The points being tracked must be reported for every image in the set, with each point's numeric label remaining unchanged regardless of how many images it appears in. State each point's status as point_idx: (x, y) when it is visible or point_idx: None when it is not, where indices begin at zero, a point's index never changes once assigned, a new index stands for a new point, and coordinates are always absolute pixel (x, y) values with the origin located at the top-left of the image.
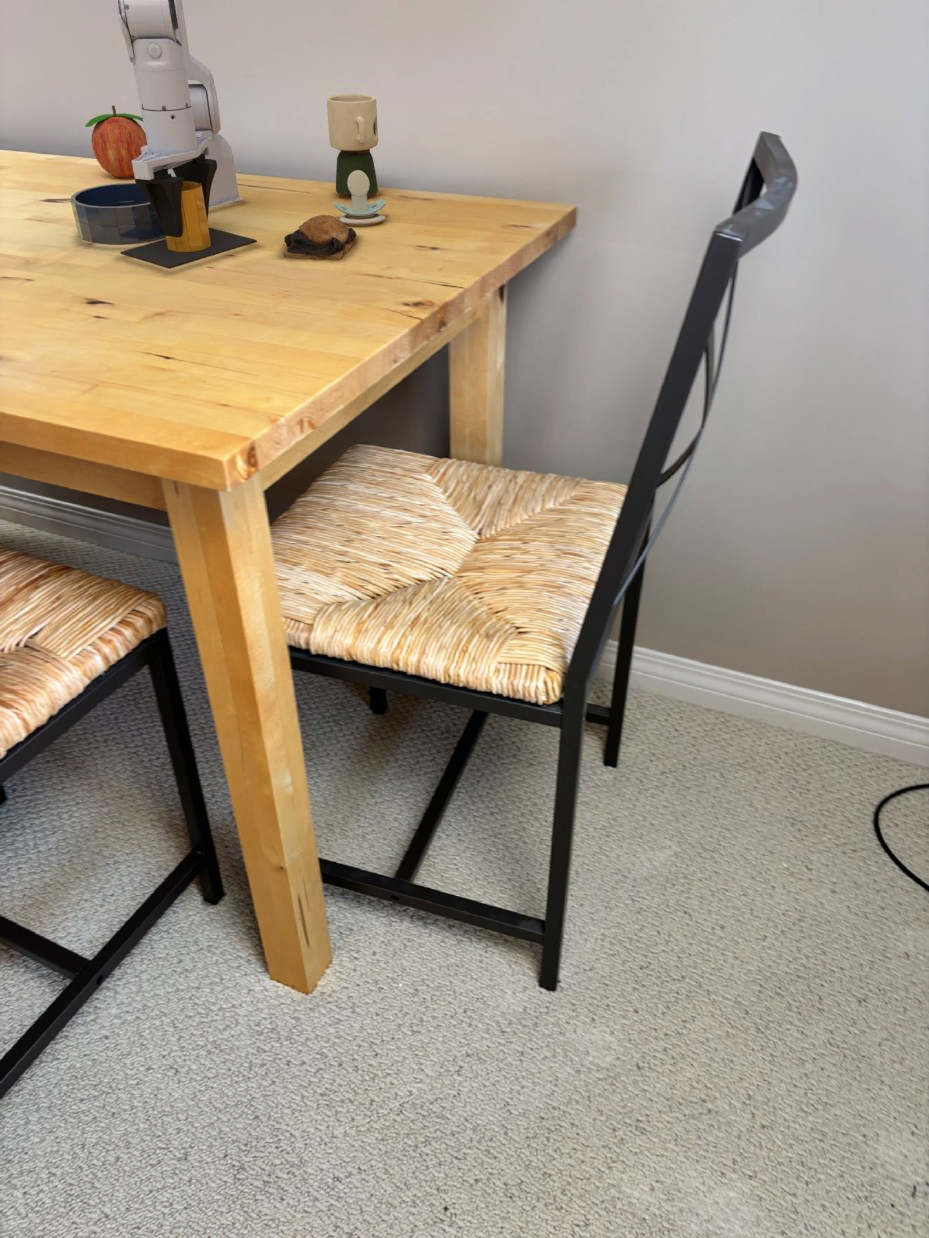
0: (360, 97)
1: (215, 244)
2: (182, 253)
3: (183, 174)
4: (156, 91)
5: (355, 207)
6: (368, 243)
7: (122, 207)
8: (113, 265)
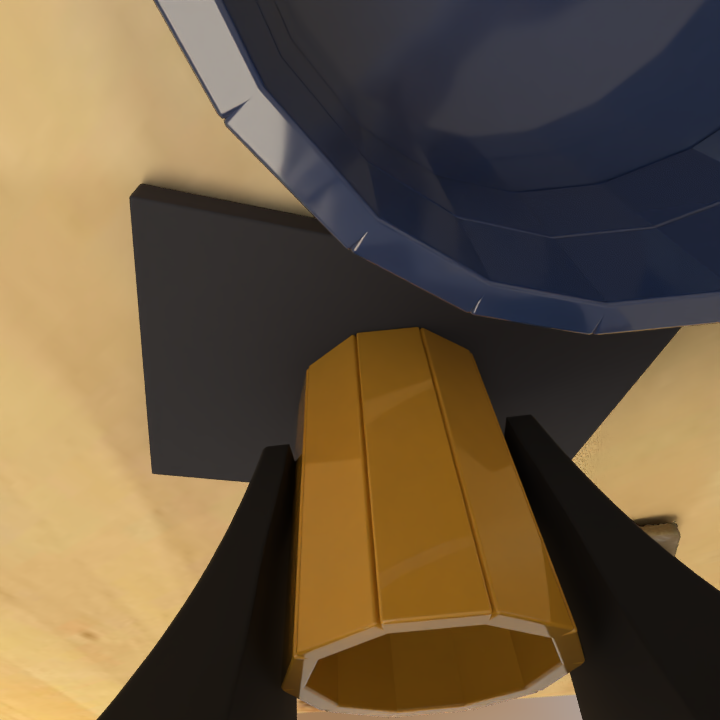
0: None
1: None
2: (294, 432)
3: (631, 686)
4: None
5: None
6: None
7: (292, 186)
8: (41, 222)
